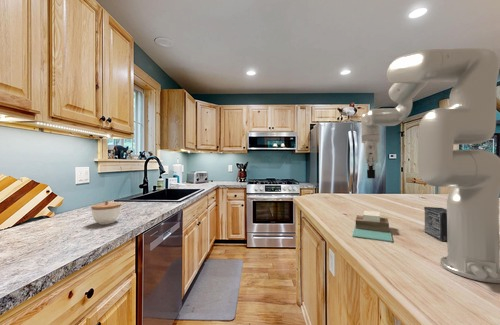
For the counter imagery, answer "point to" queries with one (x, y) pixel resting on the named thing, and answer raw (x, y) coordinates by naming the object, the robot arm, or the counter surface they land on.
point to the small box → (436, 222)
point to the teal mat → (372, 235)
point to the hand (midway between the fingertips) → (371, 178)
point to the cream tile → (371, 216)
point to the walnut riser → (372, 224)
